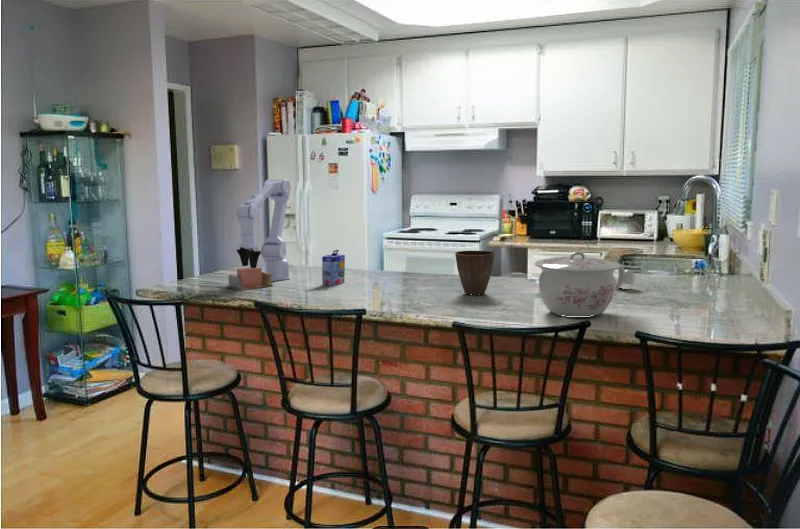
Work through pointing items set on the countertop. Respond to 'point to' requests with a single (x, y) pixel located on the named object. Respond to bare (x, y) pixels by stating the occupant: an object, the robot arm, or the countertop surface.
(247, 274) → the pink rectangular pillar
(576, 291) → the chamber pot
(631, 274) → the white plastic bottle
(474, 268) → the plant pot
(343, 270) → the ink cartridge box
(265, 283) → the shelf
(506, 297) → the countertop surface
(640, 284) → the countertop surface
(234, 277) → the gray rectangular bar
